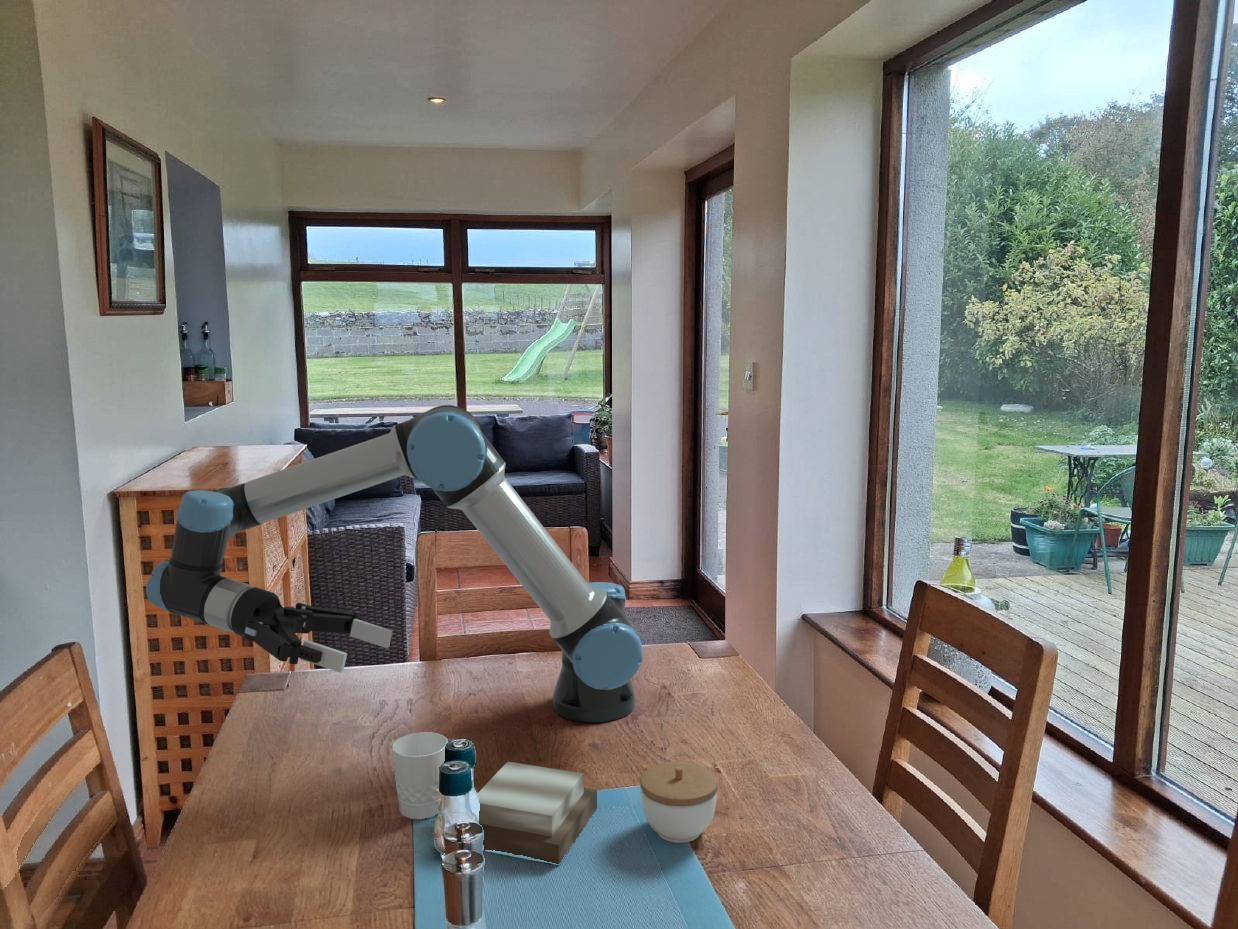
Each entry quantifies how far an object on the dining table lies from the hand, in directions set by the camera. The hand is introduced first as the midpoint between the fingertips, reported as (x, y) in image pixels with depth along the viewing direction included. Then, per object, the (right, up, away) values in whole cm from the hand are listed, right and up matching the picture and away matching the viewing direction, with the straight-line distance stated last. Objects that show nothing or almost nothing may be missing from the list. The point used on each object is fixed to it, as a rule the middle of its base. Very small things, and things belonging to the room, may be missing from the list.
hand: (368, 650), depth 136 cm
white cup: (+8, -23, -1) cm, 25 cm away
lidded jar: (+45, -24, -7) cm, 52 cm away
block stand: (+24, -24, -6) cm, 35 cm away
